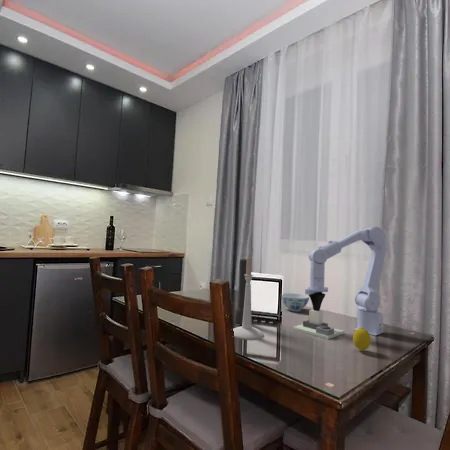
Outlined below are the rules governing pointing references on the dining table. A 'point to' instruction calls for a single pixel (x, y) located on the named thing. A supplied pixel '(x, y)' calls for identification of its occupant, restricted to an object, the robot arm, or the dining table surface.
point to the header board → (312, 331)
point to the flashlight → (241, 292)
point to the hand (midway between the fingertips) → (316, 310)
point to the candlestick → (247, 311)
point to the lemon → (361, 339)
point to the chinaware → (295, 301)
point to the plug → (316, 317)
